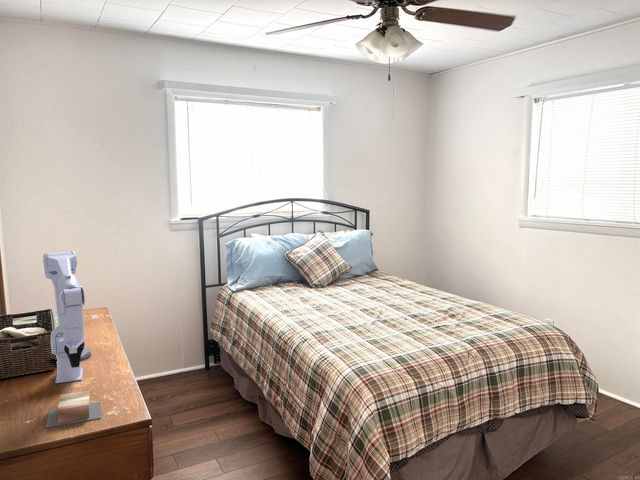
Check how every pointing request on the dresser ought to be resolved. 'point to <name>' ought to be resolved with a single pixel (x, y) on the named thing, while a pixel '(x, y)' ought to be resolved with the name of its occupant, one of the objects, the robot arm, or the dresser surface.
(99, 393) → the dresser surface
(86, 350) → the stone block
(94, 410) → the mat
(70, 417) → the birch block
